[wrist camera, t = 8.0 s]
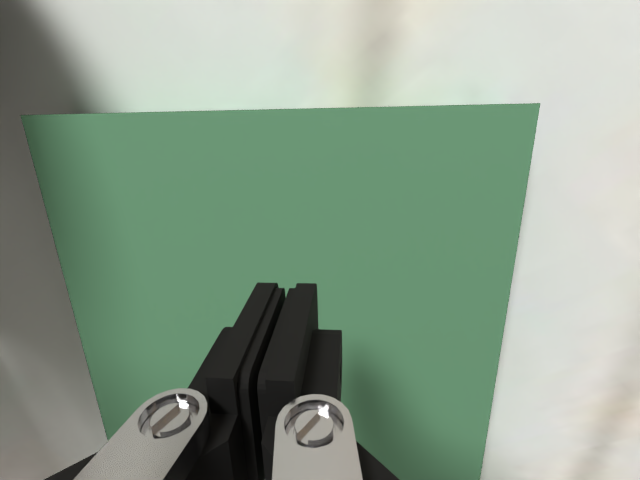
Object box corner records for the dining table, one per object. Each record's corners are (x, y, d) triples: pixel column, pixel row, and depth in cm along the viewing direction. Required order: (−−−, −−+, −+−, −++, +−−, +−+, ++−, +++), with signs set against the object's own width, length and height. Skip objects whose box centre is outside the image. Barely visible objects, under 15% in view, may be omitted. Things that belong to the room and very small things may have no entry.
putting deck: (71, 114, 18) (20, 115, 15) (505, 104, 17) (540, 103, 14) (169, 545, 28) (149, 595, 25) (445, 555, 27) (459, 608, 24)
